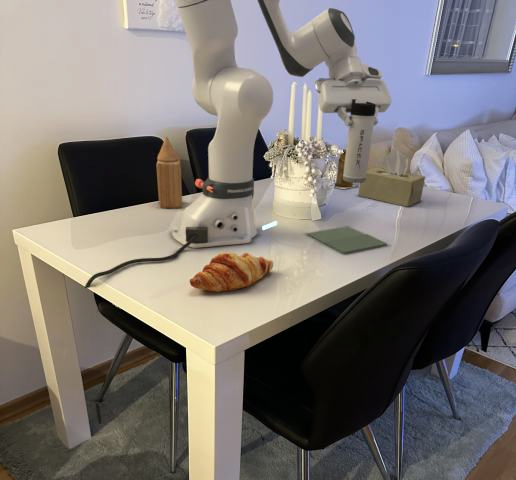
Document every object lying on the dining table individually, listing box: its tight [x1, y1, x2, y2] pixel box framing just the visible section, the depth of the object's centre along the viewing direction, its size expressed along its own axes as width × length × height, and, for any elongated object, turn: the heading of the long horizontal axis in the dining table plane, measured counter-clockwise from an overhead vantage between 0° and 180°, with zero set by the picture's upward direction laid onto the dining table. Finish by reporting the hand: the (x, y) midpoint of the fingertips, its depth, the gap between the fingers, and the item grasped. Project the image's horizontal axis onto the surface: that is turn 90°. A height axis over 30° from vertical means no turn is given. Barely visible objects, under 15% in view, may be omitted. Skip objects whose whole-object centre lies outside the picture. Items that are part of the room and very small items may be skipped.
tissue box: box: [357, 148, 426, 208], centre depth 165 cm, size 19×10×16 cm, turn 51°
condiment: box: [333, 149, 358, 190], centre depth 179 cm, size 7×8×12 cm
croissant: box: [189, 252, 274, 293], centre depth 106 cm, size 21×10×8 cm, turn 129°
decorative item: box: [156, 136, 183, 209], centre depth 149 cm, size 7×7×20 cm
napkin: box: [306, 226, 388, 255], centre depth 133 cm, size 14×16×1 cm
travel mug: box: [343, 99, 376, 184], centre depth 134 cm, size 6×7×20 cm
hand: (362, 124), depth 131 cm, fingers closed on travel mug, 6 cm apart
